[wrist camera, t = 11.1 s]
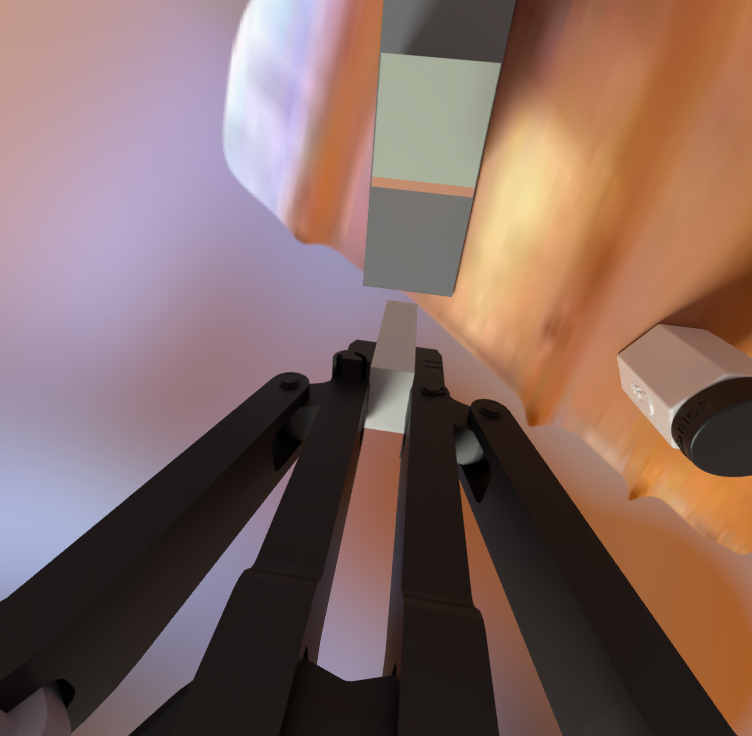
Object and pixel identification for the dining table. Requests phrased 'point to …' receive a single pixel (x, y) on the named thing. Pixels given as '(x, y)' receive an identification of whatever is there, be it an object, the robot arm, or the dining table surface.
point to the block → (432, 123)
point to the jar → (694, 395)
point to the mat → (421, 209)
